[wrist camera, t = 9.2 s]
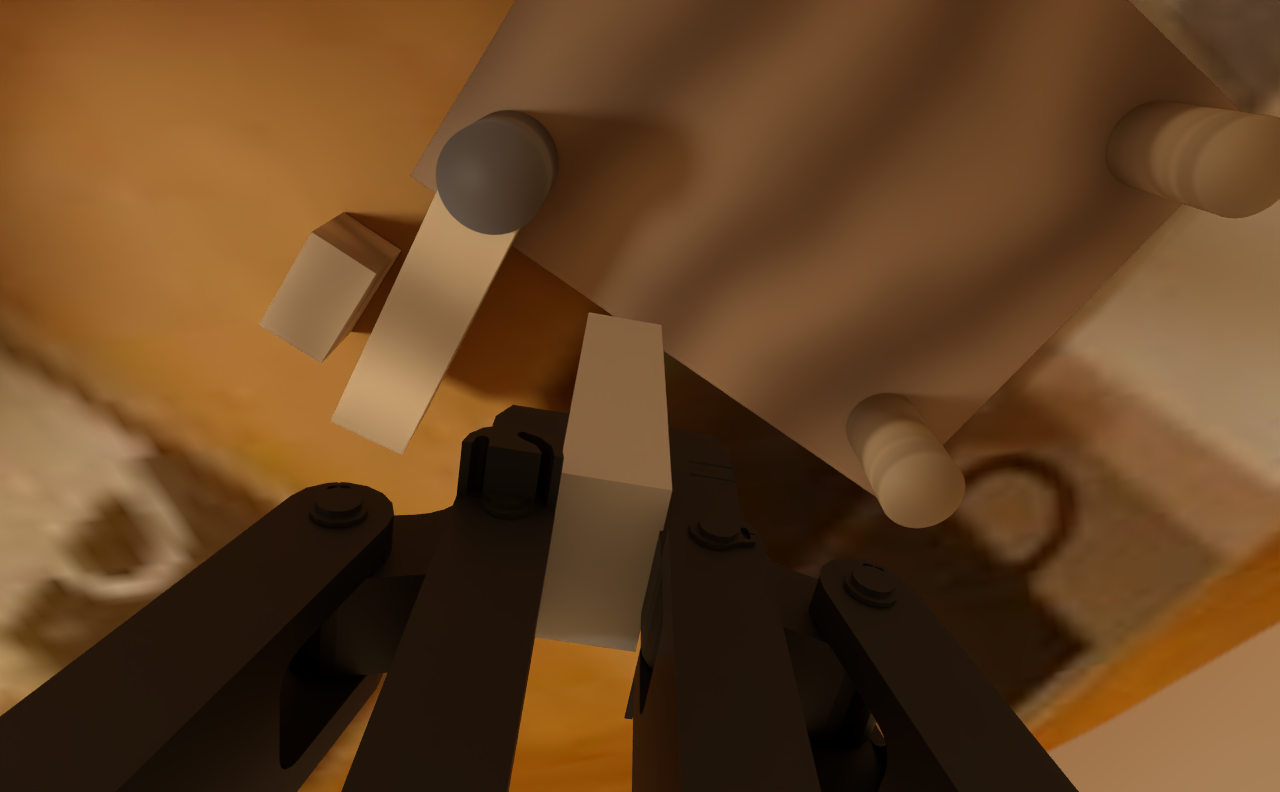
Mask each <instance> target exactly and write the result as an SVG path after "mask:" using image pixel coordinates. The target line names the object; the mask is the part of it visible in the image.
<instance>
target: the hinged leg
mask: <svg viewBox="0 0 1280 792" xmlns="http://www.w3.org/2000/svg"><path fill="white" fill-rule="evenodd" d="M557 171H558V153H557V149H556V146H555V143H554V140H553V139H552V137H551V135H550V133H549V132H548V131H547V129H546V128H545V127H544V126H543V125H542V124H541V123H540V122H539V121H538V120H536V119H535V118H533V117H532V116H530V115H528V114H525V113H522V112H519V111H514V110H501V111H496V112H493V113H490V114H488V115H486V116H484V117H483V118H481V119H479V120H477V121H476V122H474V123H472V124H470V125H469V126H467V127H465V128H463V129H462V130H460V131H458V132H457V133H456V134H454V135H453V136H452V137H451V138H450V139H449V140H448V141H447V143H446V144H445V145H444V147H443V149H442V151H441V152H440V155H439V158H438V161H437V166H436V184H437V189H438V190H437V192H436V194H435V197H434V199H433V201H432V203H431V205H430V207H429V210H428V212H427V214H426V216H425V218H424V220H423V223H422V225H421V227H420V229H419V231H418V233H417V235H416V238H415V240H414V242H413V244H412V246H411V248H410V251H409V253H408V255H407V257H406V259H405V261H404V264H403V266H402V268H401V270H400V272H399V274H398V277H397V279H396V281H395V283H394V285H393V287H392V289H391V292H390V294H389V296H388V298H387V300H386V302H385V305H384V307H383V309H382V311H381V313H380V315H379V318H378V320H377V322H376V324H375V326H374V328H373V331H372V333H371V335H370V337H369V339H368V341H367V343H366V346H365V348H364V350H363V352H362V354H361V356H360V359H359V361H358V363H357V365H356V367H355V369H354V372H353V374H352V376H351V378H350V380H349V382H348V385H347V387H346V389H345V391H344V393H343V395H342V397H341V400H340V402H339V404H338V406H337V408H336V410H335V413H334V415H333V417H332V419H331V422H333V423H335V424H337V425H339V426H341V427H343V428H346V429H348V430H350V431H352V432H354V433H356V434H358V435H360V436H362V437H365V438H367V439H369V440H371V441H373V442H375V443H377V444H379V445H381V446H384V447H386V448H388V449H390V450H392V451H394V452H396V453H398V454H401V455H402V454H403V452H404V451H405V449H406V447H407V445H408V443H409V442H410V440H411V438H412V436H413V435H414V433H415V431H416V429H417V427H418V426H419V424H420V422H421V420H422V418H423V417H424V415H425V413H426V411H427V409H428V407H429V405H430V403H431V401H432V399H433V398H434V396H435V394H436V392H437V390H438V388H439V386H440V384H441V382H442V380H443V378H444V376H445V374H446V372H447V370H448V368H449V366H450V364H451V362H452V361H453V359H454V357H455V355H456V353H457V351H458V349H459V347H460V345H461V343H462V341H463V339H464V337H465V335H466V333H467V331H468V329H469V327H470V325H471V323H472V322H473V320H474V318H475V316H476V314H477V312H478V310H479V308H480V306H481V304H482V302H483V300H484V298H485V296H486V294H487V292H488V290H489V288H490V286H491V285H492V283H493V281H494V279H495V277H496V275H497V273H498V271H499V269H500V267H501V265H502V263H503V261H504V259H505V257H506V255H507V253H508V251H509V249H510V247H511V246H512V244H513V242H514V240H515V238H516V236H517V234H518V232H519V230H520V228H522V227H523V226H525V225H526V224H527V223H528V222H529V221H531V220H532V219H533V217H534V216H535V215H536V214H537V212H538V210H539V209H540V207H541V205H542V203H543V201H544V200H545V198H546V196H547V194H548V193H549V191H550V189H551V187H552V185H553V183H554V181H555V179H556V175H557Z"/></svg>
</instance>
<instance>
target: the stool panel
mask: <svg viewBox="0 0 1280 792" xmlns="http://www.w3.org/2000/svg"><path fill="white" fill-rule="evenodd" d="M501 110H514V111H519V112H522V113H525V114H528V115H530V116H532V117H533V118H535V119H536V120H538V121H539V122H540V123H541V124H542V125H543V126H544V127H545V128H546V129H547V131H548V132H549V133H550V135H551V137H552V139H553V140H554V143H555V146H556V149H557V153H558V171H557V175H556V179H555V181H554V183H553V185H552V187H551V189H550V191H549V193H548V194H547V196H546V198H545V200H544V201H543V203H542V205H541V207H540V209H539V210H538V212H537V214H536V215H535V216H534V217H533V219H532V220H531V221H529V222H528V223H527V224H526V225H525V226H523V227H522V228H520V230H519V232H518V234H517V236H516V238H515V240H514V242H513V244H512V246H513V247H514V248H515V249H517V250H518V251H520V252H521V253H523V254H524V255H526V256H527V257H529V258H530V259H531V260H533V261H534V262H536V263H537V264H539V265H540V266H542V267H543V268H544V269H546V270H547V271H549V272H550V273H552V274H553V275H555V276H556V277H558V278H559V279H560V280H562V281H563V282H565V283H566V284H568V285H569V286H571V287H572V288H574V289H575V290H576V291H578V292H579V293H581V294H582V295H584V296H585V297H587V298H588V299H589V300H591V301H592V302H594V303H595V304H597V305H598V306H600V307H601V308H603V309H604V310H605V311H607V312H608V313H610V314H611V315H613V316H614V317H619V318H625V319H630V320H636V321H642V322H648V323H653V324H659V325H661V326H662V342H663V350H664V351H665V352H666V353H668V354H669V355H671V356H672V357H674V358H675V359H677V360H678V361H679V362H681V363H682V364H684V365H685V366H687V367H688V368H690V369H691V370H693V371H694V372H695V373H697V374H698V375H700V376H701V377H703V378H704V379H706V380H707V381H709V382H710V383H711V384H713V385H714V386H716V387H717V388H719V389H720V390H722V391H723V392H725V393H726V394H727V395H729V396H730V397H732V398H733V399H735V400H736V401H738V402H739V403H740V404H742V405H743V406H745V407H746V408H748V409H749V410H751V411H752V412H754V413H755V414H756V415H758V416H759V417H761V418H762V419H764V420H765V421H767V422H768V423H770V424H771V425H772V426H774V427H775V428H777V429H778V430H780V431H781V432H783V433H784V434H785V435H787V436H788V437H790V438H791V439H793V440H794V441H796V442H797V443H799V444H800V445H801V446H803V447H804V448H806V449H807V450H809V451H810V452H812V453H813V454H815V455H816V456H817V457H819V458H820V459H822V460H823V461H825V462H826V463H828V464H829V465H830V466H832V467H833V468H835V469H836V470H838V471H839V472H841V473H842V474H844V475H845V476H846V477H848V478H849V479H851V480H852V481H854V482H855V483H857V484H858V485H860V486H861V487H862V488H864V489H865V490H867V491H868V492H870V493H871V494H873V495H874V496H875V497H877V498H878V500H879V502H880V504H881V506H882V508H883V510H884V512H885V513H886V515H887V516H888V517H889V518H890V519H891V520H892V521H894V522H895V523H897V524H899V525H902V526H905V527H910V528H924V527H929V526H933V525H936V524H938V523H940V522H942V521H944V520H945V519H947V518H948V517H950V516H951V515H952V514H953V513H954V512H955V511H956V510H957V508H958V507H959V506H960V504H961V502H962V500H963V497H964V493H965V480H964V477H963V474H962V472H961V471H960V469H959V468H958V466H957V465H956V463H955V462H954V461H953V459H952V458H951V457H950V455H949V454H948V452H947V451H946V450H945V448H944V447H943V445H944V444H945V443H946V442H947V441H948V440H949V439H950V438H951V437H952V436H953V435H954V434H955V433H956V432H957V431H958V430H959V429H960V428H961V427H962V426H963V425H964V424H965V423H966V422H967V421H968V420H969V419H970V418H971V417H972V416H973V415H974V414H975V413H976V412H977V411H978V410H979V409H980V408H981V407H982V406H983V404H984V403H985V402H986V401H987V400H988V399H989V398H990V397H991V396H992V395H993V394H994V393H995V392H996V391H997V390H998V389H999V388H1000V387H1001V386H1002V385H1003V384H1004V383H1005V382H1006V381H1007V380H1008V379H1009V378H1010V377H1011V376H1012V375H1013V374H1014V373H1015V372H1016V371H1017V370H1018V369H1019V368H1020V367H1021V366H1022V365H1023V364H1024V363H1025V362H1026V361H1027V360H1028V359H1029V358H1030V357H1031V356H1032V355H1033V354H1034V353H1035V352H1036V351H1037V350H1038V349H1039V348H1040V347H1041V346H1042V345H1043V344H1044V343H1045V342H1046V341H1047V340H1048V339H1049V338H1050V337H1051V336H1052V335H1053V334H1054V333H1055V332H1056V331H1057V330H1058V329H1059V328H1060V327H1061V326H1062V325H1063V324H1064V323H1065V322H1066V321H1067V320H1068V319H1069V318H1070V317H1071V316H1072V315H1073V314H1074V313H1075V312H1076V311H1077V310H1078V309H1079V308H1080V307H1081V306H1082V305H1083V304H1084V303H1085V302H1086V301H1087V300H1088V299H1089V298H1090V297H1091V296H1092V295H1093V294H1094V293H1095V292H1096V291H1097V290H1098V289H1099V288H1100V287H1101V286H1102V284H1103V283H1104V282H1105V281H1106V280H1107V279H1108V278H1109V277H1110V276H1111V275H1112V274H1113V273H1114V272H1115V271H1116V270H1117V269H1118V268H1119V267H1120V266H1121V265H1122V264H1123V263H1124V262H1125V261H1126V260H1127V259H1128V258H1129V257H1130V256H1131V255H1132V254H1133V253H1134V252H1135V251H1136V250H1137V249H1138V248H1139V247H1140V246H1141V245H1142V244H1143V243H1144V242H1145V241H1146V240H1147V239H1148V238H1149V237H1150V236H1151V235H1152V234H1153V233H1154V232H1155V231H1156V230H1157V229H1158V228H1159V227H1160V226H1161V225H1162V224H1163V223H1164V222H1165V221H1166V220H1167V219H1168V218H1169V217H1170V216H1171V215H1172V214H1173V213H1174V212H1175V211H1176V210H1177V209H1178V208H1179V207H1180V206H1181V205H1182V204H1186V205H1189V206H1192V207H1195V208H1198V209H1201V210H1204V211H1207V212H1210V213H1213V214H1216V215H1219V216H1222V217H1227V218H1242V217H1247V216H1251V215H1254V214H1256V213H1259V212H1261V211H1263V210H1265V209H1266V208H1268V207H1269V206H1271V205H1272V204H1274V203H1275V202H1276V201H1277V200H1278V199H1280V118H1278V117H1274V116H1268V115H1261V114H1254V113H1247V112H1241V111H1240V110H1239V109H1238V108H1237V107H1236V106H1235V105H1234V104H1233V103H1232V102H1231V101H1230V100H1229V99H1228V98H1227V97H1226V96H1225V95H1224V94H1223V93H1222V92H1221V91H1220V90H1219V89H1218V88H1217V87H1216V86H1215V85H1214V84H1213V83H1212V82H1211V81H1210V80H1209V79H1208V78H1207V77H1206V76H1205V75H1204V74H1203V73H1202V72H1201V71H1200V70H1199V69H1198V68H1197V67H1196V66H1194V65H1193V64H1192V63H1191V62H1190V61H1189V60H1188V59H1187V58H1186V57H1185V56H1184V55H1183V54H1182V53H1181V52H1180V51H1179V50H1178V49H1177V48H1176V47H1175V46H1174V45H1173V44H1172V43H1171V42H1170V41H1169V40H1168V39H1167V38H1166V37H1165V36H1164V35H1163V34H1162V33H1161V32H1160V31H1159V30H1158V29H1157V28H1156V27H1155V26H1154V25H1153V24H1152V23H1151V22H1150V21H1149V20H1148V19H1147V18H1146V17H1145V16H1144V15H1143V14H1142V13H1141V12H1140V11H1139V10H1137V9H1136V8H1135V7H1134V6H1133V5H1132V4H1131V3H1130V2H1129V1H1128V0H516V1H515V2H514V4H513V6H512V7H511V9H510V11H509V12H508V14H507V16H506V17H505V19H504V21H503V22H502V24H501V26H500V27H499V29H498V31H497V32H496V34H495V36H494V37H493V39H492V41H491V42H490V44H489V46H488V47H487V49H486V51H485V52H484V54H483V56H482V57H481V59H480V61H479V62H478V64H477V66H476V67H475V69H474V70H473V72H472V74H471V75H470V77H469V79H468V80H467V82H466V84H465V85H464V87H463V89H462V90H461V92H460V94H459V95H458V97H457V99H456V100H455V102H454V104H453V105H452V107H451V109H450V110H449V112H448V114H447V115H446V117H445V119H444V120H443V122H442V124H441V125H440V127H439V129H438V130H437V132H436V134H435V135H434V137H433V139H432V140H431V142H430V144H429V145H428V147H427V149H426V150H425V152H424V153H423V155H422V157H421V158H420V160H419V162H418V163H417V165H416V167H415V168H414V170H413V172H412V173H411V175H410V176H411V177H412V178H414V179H415V180H417V181H418V182H420V183H421V184H423V185H424V186H425V187H427V188H428V189H430V190H431V191H433V192H434V193H436V192H437V190H438V189H437V184H436V166H437V161H438V158H439V155H440V152H441V151H442V149H443V147H444V145H445V144H446V143H447V141H448V140H449V139H450V138H451V137H452V136H453V135H454V134H456V133H457V132H458V131H460V130H462V129H463V128H465V127H467V126H469V125H470V124H472V123H474V122H476V121H477V120H479V119H481V118H483V117H484V116H486V115H488V114H490V113H493V112H496V111H501ZM400 252H401V250H400V249H399V248H397V247H396V246H394V245H393V244H391V243H389V242H388V241H386V240H385V239H383V238H382V237H380V236H379V235H377V234H376V233H374V232H373V231H371V230H370V229H368V228H367V227H365V226H364V225H362V224H361V223H359V222H358V221H356V220H355V219H353V218H352V217H350V216H349V215H347V214H346V213H344V212H343V213H342V214H340V215H338V216H337V217H335V218H334V219H332V220H330V221H329V222H327V223H326V224H324V225H322V226H321V227H319V228H317V229H316V230H314V231H313V232H311V234H310V236H309V238H308V239H307V241H306V243H305V245H304V247H303V248H302V250H301V252H300V254H299V255H298V257H297V259H296V261H295V262H294V264H293V266H292V268H291V269H290V271H289V273H288V275H287V276H286V278H285V280H284V282H283V283H282V285H281V287H280V289H279V290H278V292H277V294H276V296H275V297H274V299H273V301H272V303H271V304H270V306H269V308H268V310H267V311H266V313H265V315H264V317H263V318H262V320H261V322H260V324H259V325H260V326H261V327H263V328H264V329H266V330H268V331H269V332H271V333H273V334H274V335H276V336H278V337H279V338H281V339H283V340H284V341H286V342H287V343H289V344H291V345H292V346H294V347H296V348H297V349H299V350H301V351H302V352H304V353H306V354H307V355H309V356H310V357H312V358H314V359H315V360H317V361H319V362H320V363H322V362H323V361H324V360H325V359H326V358H327V357H328V355H329V354H330V353H331V352H332V351H333V350H334V349H335V348H336V347H337V346H338V345H339V344H340V343H341V342H342V341H343V340H344V339H345V338H346V337H347V336H348V334H349V333H350V332H351V331H352V329H353V328H354V326H355V324H356V323H357V321H358V319H359V318H360V316H361V315H362V313H363V311H364V310H365V308H366V307H367V305H368V303H369V302H370V300H371V299H372V297H373V295H374V294H375V292H376V290H377V289H378V287H379V286H380V284H381V282H382V281H383V279H384V278H385V276H386V274H387V273H388V271H389V270H390V268H391V266H392V265H393V263H394V261H395V260H396V258H397V257H398V255H399V253H400Z"/></svg>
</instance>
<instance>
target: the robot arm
mask: <svg viewBox="0 0 1280 792" xmlns="http://www.w3.org/2000/svg"><path fill="white" fill-rule="evenodd" d="M640 629H641V648H640V653H639V657H638V661H637V666H636V670H635V674H634V679H633V683H632V687H631V692H630V696H629V700H628V705H627V709H626V713H625V718H626V719H632V718H633V763H632V792H1079V791H1078V790H1077V789H1076V788H1075V787H1074V785H1073V784H1072V783H1071V782H1070V780H1069V779H1068V778H1067V777H1066V775H1065V774H1064V773H1063V772H1062V771H1061V769H1060V768H1059V767H1058V766H1057V764H1056V763H1055V762H1054V761H1053V759H1052V758H1051V757H1050V756H1049V754H1048V753H1047V752H1046V751H1045V750H1044V748H1043V747H1042V746H1041V745H1040V743H1039V742H1038V741H1037V740H1036V738H1035V737H1034V736H1033V735H1032V734H1031V732H1030V731H1029V730H1028V729H1027V727H1026V726H1025V725H1024V724H1023V722H1022V721H1021V720H1020V719H1019V718H1018V716H1017V715H1016V714H1015V713H1014V711H1013V710H1012V709H1011V708H1010V706H1009V705H1008V704H1007V703H1006V701H1005V700H1004V699H1003V698H1002V697H1001V695H1000V694H999V693H998V692H997V690H996V689H995V688H994V687H993V685H992V684H991V683H990V682H989V681H988V679H987V678H986V677H985V676H984V674H983V673H982V672H981V671H980V669H979V668H978V667H977V666H976V665H975V663H974V662H973V661H972V660H971V658H970V657H969V656H968V655H967V653H966V652H965V651H964V650H963V649H962V647H961V646H960V645H959V644H958V642H957V641H956V640H955V639H954V637H953V636H952V635H951V634H950V632H949V631H948V630H947V629H946V628H945V626H944V625H943V624H942V623H941V621H940V620H939V619H938V618H937V616H936V615H935V614H934V613H933V612H932V610H931V609H930V608H929V607H928V605H927V604H926V603H925V602H924V600H923V599H922V598H921V597H920V596H919V594H918V593H917V592H916V591H915V589H914V588H913V587H912V586H910V585H909V584H908V583H907V582H906V581H905V580H904V579H903V578H902V577H901V576H899V575H897V574H895V573H894V572H892V571H890V570H888V569H887V568H886V567H884V566H882V565H879V564H877V563H875V564H874V563H873V562H870V561H866V560H859V559H851V558H843V559H836V560H832V561H830V562H829V563H827V564H826V565H824V566H823V567H822V569H821V573H820V576H819V579H815V578H813V577H810V576H807V575H804V574H801V573H799V572H796V571H793V570H791V569H788V568H786V567H784V566H781V565H779V564H777V563H775V562H774V561H772V560H770V559H769V558H767V556H766V551H765V547H764V543H763V541H762V539H761V537H760V535H759V534H758V532H757V531H756V530H755V529H753V528H752V527H751V526H750V525H749V524H748V523H746V522H745V521H743V517H742V512H741V507H740V502H739V498H738V493H737V488H736V484H735V478H734V473H733V471H732V463H731V459H730V454H729V451H728V450H727V449H726V448H725V447H724V446H723V444H722V443H721V442H720V441H719V440H718V439H717V438H716V437H715V436H713V435H707V434H701V433H695V432H689V431H682V430H676V429H670V428H668V418H667V403H666V387H665V372H664V357H663V342H662V326H661V325H659V324H653V323H648V322H642V321H636V320H630V319H625V318H619V317H613V316H607V315H602V314H596V313H590V312H589V313H588V319H587V324H586V329H585V335H584V340H583V345H582V351H581V356H580V361H579V367H578V372H577V377H576V383H575V388H574V393H573V399H572V404H571V410H570V414H566V413H560V412H554V411H548V410H541V409H535V408H529V407H523V406H517V405H512V406H511V407H509V408H508V409H506V410H504V411H503V412H501V413H500V414H498V415H497V416H496V418H495V420H494V423H493V426H492V427H485V428H482V429H479V430H477V431H474V432H472V433H470V434H469V435H468V436H467V437H466V438H465V439H464V440H463V441H462V449H461V459H460V468H459V478H458V487H457V496H456V499H455V501H454V504H453V506H451V507H448V508H446V509H444V510H440V511H436V512H433V513H427V514H417V515H396V516H394V511H393V505H392V502H391V501H390V500H389V499H388V498H387V497H386V496H385V495H384V494H383V493H381V492H379V491H377V490H374V489H372V488H370V487H368V486H363V485H358V484H352V483H345V482H340V483H338V482H334V483H325V484H321V485H316V486H312V487H308V488H305V489H303V490H301V491H299V492H298V493H296V494H294V495H292V496H290V497H289V498H288V499H286V500H285V501H284V502H282V503H281V504H280V505H278V506H277V507H276V508H274V509H273V510H272V511H270V512H269V513H268V514H266V515H265V516H264V517H263V518H261V519H260V520H259V521H257V522H256V523H255V524H253V525H252V526H251V527H249V528H248V529H247V530H245V531H244V532H243V533H241V534H240V535H239V536H237V537H236V538H235V539H234V540H232V541H231V542H230V543H228V544H227V545H226V546H224V547H223V548H222V549H220V550H219V551H218V552H216V553H215V554H214V555H212V556H211V557H210V558H209V559H207V560H206V561H205V562H203V563H202V564H201V565H199V566H198V567H197V568H195V569H194V570H193V571H191V572H190V573H189V574H187V575H186V576H185V577H183V578H182V579H181V580H180V581H178V582H177V583H176V584H174V585H173V586H172V587H170V588H169V589H168V590H166V591H165V592H164V593H162V594H161V595H160V596H158V597H157V598H156V599H155V600H153V601H152V602H151V603H149V604H148V605H147V606H145V607H144V608H143V609H141V610H140V611H139V612H137V613H136V614H135V615H133V616H132V617H131V618H130V619H128V620H127V621H126V622H124V623H123V624H122V625H120V626H119V627H118V628H116V629H115V630H114V631H112V632H111V633H110V634H108V635H107V636H106V637H104V638H103V639H102V640H101V641H99V642H98V643H97V644H95V645H94V646H93V647H91V648H90V649H89V650H87V651H86V652H85V653H83V654H82V655H81V656H79V657H78V658H77V659H76V660H74V661H73V662H72V663H70V664H69V665H68V666H66V667H65V668H64V669H62V670H61V671H60V672H58V673H57V674H56V675H54V676H53V677H52V678H50V679H49V680H48V681H47V682H45V683H44V684H43V685H41V686H40V687H39V688H37V689H36V690H35V691H33V692H32V693H31V694H29V695H28V696H27V697H25V698H24V699H23V700H22V701H20V702H19V703H18V704H16V705H15V706H14V707H12V708H11V709H10V710H8V711H7V712H6V713H4V714H3V715H2V716H0V792H297V791H298V790H299V788H300V787H301V786H302V785H303V783H304V782H305V781H306V779H307V778H308V777H309V775H310V774H311V773H312V772H313V770H314V769H315V768H316V766H317V765H318V764H319V762H320V761H321V760H322V759H323V757H324V756H325V755H326V753H327V752H328V751H329V749H330V748H331V747H332V746H333V744H334V743H335V742H336V740H337V739H338V738H339V736H340V735H341V734H342V733H343V731H344V730H345V729H346V727H347V726H348V725H349V723H350V722H351V721H352V720H353V718H354V717H355V716H356V714H357V713H358V712H359V710H360V709H361V708H362V707H363V705H364V704H365V703H366V701H367V700H368V699H369V697H370V696H371V695H372V694H373V692H374V691H375V690H376V688H377V686H378V684H379V682H380V680H381V677H382V675H383V673H386V672H388V673H387V676H386V678H385V681H384V683H383V686H382V689H381V691H380V694H379V696H378V699H377V701H376V704H375V707H374V709H373V712H372V714H371V717H370V719H369V722H368V725H367V727H366V730H365V732H364V735H363V737H362V740H361V742H360V745H359V748H358V750H357V753H356V755H355V758H354V760H353V763H352V766H351V768H350V771H349V773H348V776H347V778H346V781H345V784H344V786H343V789H342V791H341V792H509V786H510V780H511V774H512V768H513V763H514V757H515V751H516V745H517V739H518V733H519V727H520V722H521V716H522V710H523V704H524V698H525V692H526V687H527V681H528V675H529V669H530V663H531V657H532V651H533V645H534V639H535V637H537V638H544V639H551V640H558V641H565V642H572V643H579V644H586V645H593V646H599V647H606V648H613V649H620V650H627V651H634V652H635V651H636V647H637V642H638V638H639V634H640ZM876 722H877V723H878V725H879V727H880V729H881V731H882V733H883V736H884V737H883V736H882V734H881V733H880V731H879V730H878V728H877V726H876Z"/></svg>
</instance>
